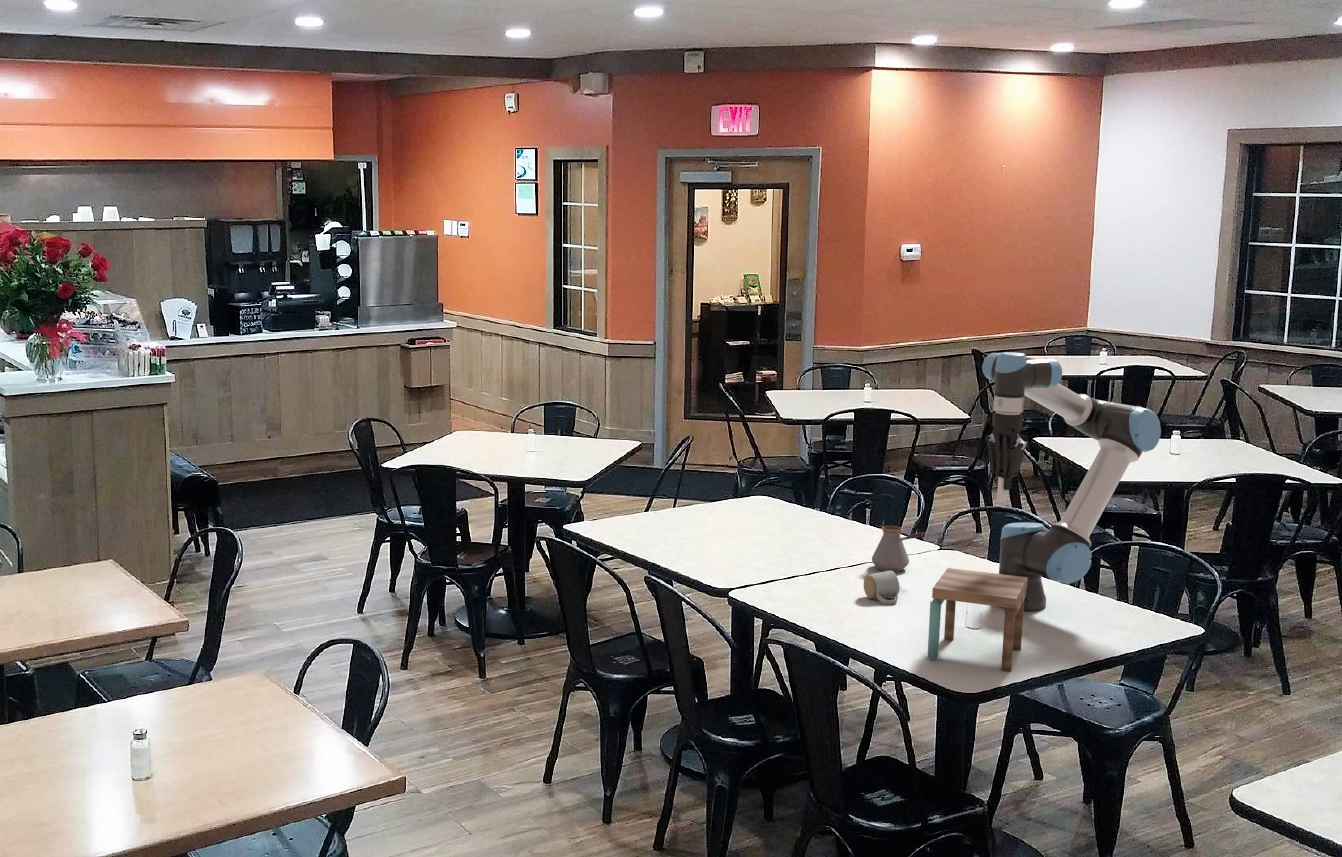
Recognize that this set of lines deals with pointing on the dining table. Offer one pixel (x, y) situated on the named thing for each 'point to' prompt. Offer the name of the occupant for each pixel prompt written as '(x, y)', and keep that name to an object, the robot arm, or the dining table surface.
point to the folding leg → (934, 628)
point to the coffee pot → (892, 550)
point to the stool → (985, 602)
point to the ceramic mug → (882, 586)
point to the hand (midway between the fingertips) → (1002, 501)
